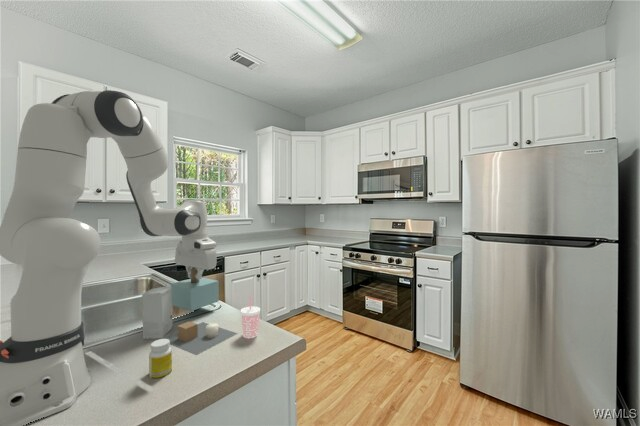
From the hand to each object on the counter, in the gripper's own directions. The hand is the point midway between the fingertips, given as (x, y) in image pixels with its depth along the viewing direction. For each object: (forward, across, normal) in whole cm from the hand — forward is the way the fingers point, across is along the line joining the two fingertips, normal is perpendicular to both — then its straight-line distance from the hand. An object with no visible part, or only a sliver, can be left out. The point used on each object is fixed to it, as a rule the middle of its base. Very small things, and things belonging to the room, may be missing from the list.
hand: (194, 278), depth 106 cm
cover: (+10, 0, 0) cm, 10 cm away
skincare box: (+14, +5, -17) cm, 23 cm away
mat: (+14, +19, -12) cm, 26 cm away
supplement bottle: (+14, +27, -29) cm, 42 cm away
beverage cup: (+14, +32, -3) cm, 35 cm away
